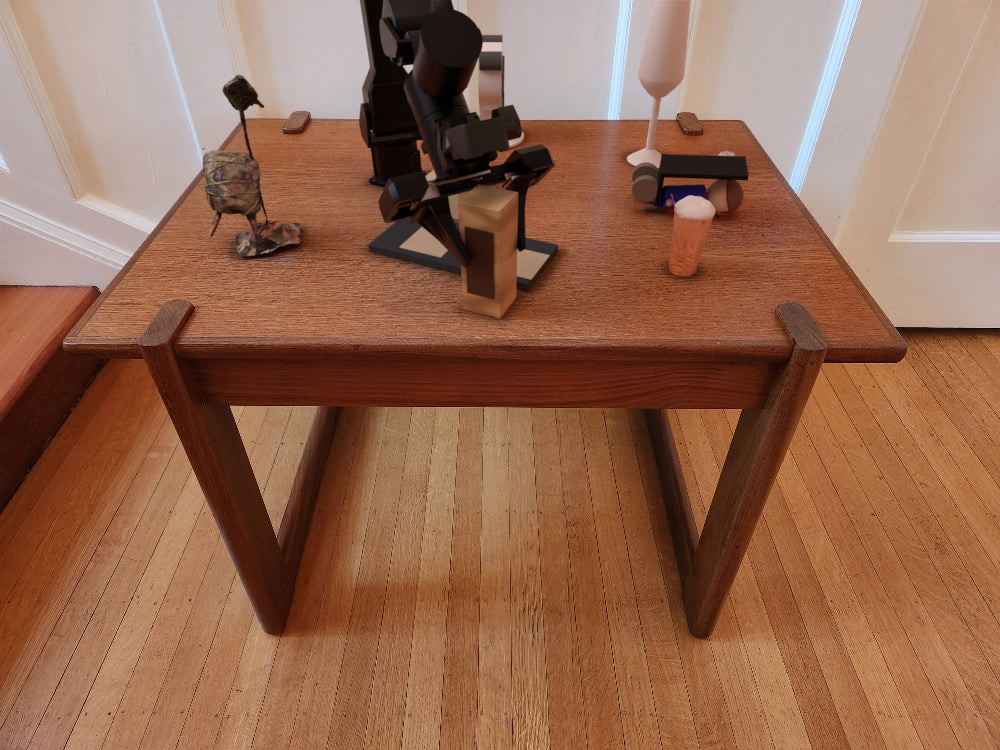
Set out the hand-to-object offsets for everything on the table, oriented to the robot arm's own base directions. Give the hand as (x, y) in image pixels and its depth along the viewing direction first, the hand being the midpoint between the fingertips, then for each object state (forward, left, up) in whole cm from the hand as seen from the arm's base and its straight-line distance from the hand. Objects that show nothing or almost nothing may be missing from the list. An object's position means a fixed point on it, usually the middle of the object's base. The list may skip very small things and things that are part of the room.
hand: (495, 258), depth 68 cm
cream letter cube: (-16, +20, -7) cm, 26 cm away
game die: (+17, +48, -7) cm, 51 cm away
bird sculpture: (-34, +1, -7) cm, 35 cm away
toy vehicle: (+14, +33, -7) cm, 36 cm away
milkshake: (+17, +17, -7) cm, 25 cm away
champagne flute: (+5, +48, -7) cm, 49 cm away
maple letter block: (-1, +1, -7) cm, 7 cm away
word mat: (-9, +10, -7) cm, 15 cm away
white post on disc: (-22, +46, -7) cm, 51 cm away
